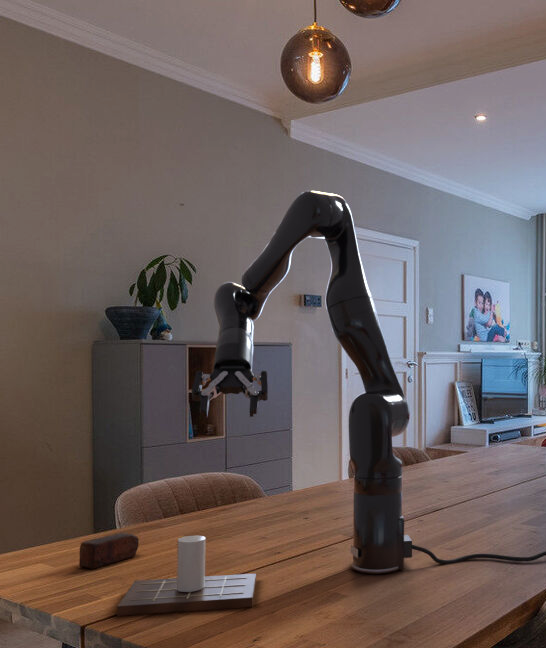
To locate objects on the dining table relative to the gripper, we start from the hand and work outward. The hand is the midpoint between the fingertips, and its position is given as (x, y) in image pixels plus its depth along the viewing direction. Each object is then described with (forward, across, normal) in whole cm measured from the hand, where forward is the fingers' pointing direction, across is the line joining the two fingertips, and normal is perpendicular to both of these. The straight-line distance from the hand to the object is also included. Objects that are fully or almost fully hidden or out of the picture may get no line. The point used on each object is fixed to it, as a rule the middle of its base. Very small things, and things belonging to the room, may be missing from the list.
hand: (228, 414), depth 139 cm
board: (+33, -4, +8) cm, 34 cm away
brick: (+15, -22, +26) cm, 37 cm away
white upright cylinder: (+32, -4, +7) cm, 32 cm away
